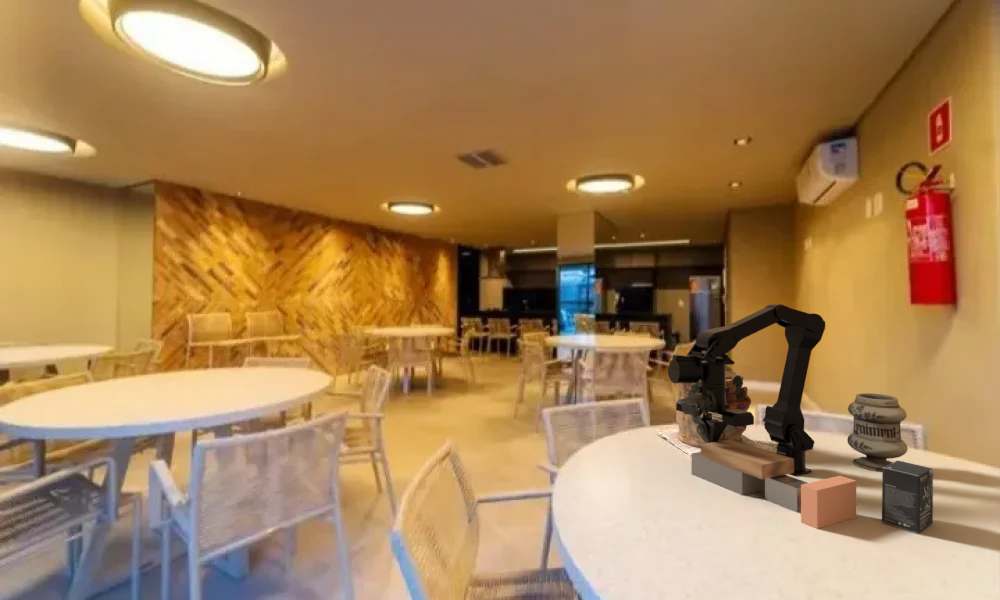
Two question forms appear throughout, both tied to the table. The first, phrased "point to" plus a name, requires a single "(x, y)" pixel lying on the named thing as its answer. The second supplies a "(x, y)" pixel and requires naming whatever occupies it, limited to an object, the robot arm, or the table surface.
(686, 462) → the table surface
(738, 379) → the cookie jar
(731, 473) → the plinth
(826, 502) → the end stop
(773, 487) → the support block
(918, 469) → the box
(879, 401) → the apothecary jar
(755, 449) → the slab
